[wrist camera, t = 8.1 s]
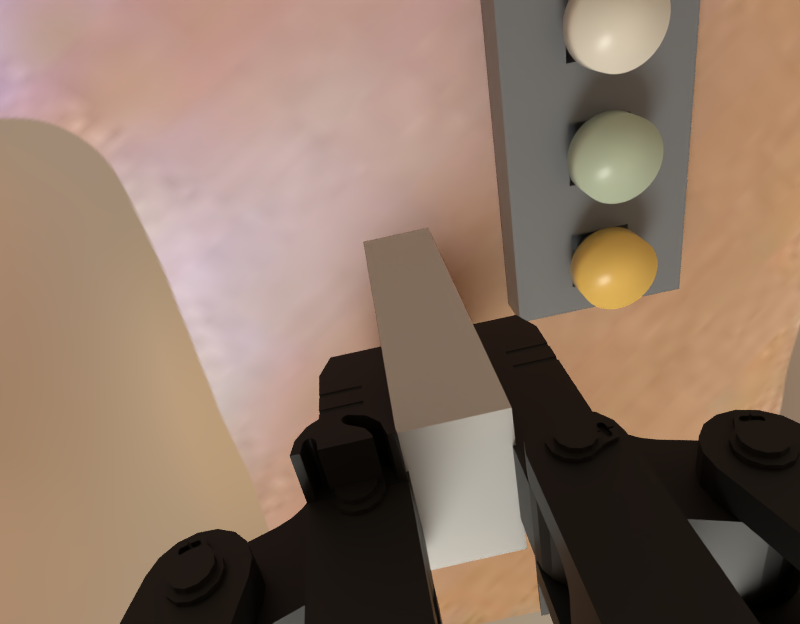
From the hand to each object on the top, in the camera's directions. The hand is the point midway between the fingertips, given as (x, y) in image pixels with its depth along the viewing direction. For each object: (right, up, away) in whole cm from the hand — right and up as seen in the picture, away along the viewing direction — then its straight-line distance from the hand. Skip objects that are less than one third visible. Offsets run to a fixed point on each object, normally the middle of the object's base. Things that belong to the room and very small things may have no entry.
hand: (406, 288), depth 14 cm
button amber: (+14, +4, +28) cm, 31 cm away
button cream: (+11, +17, +21) cm, 29 cm away
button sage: (+12, +10, +24) cm, 29 cm away
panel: (+12, +11, +26) cm, 31 cm away
